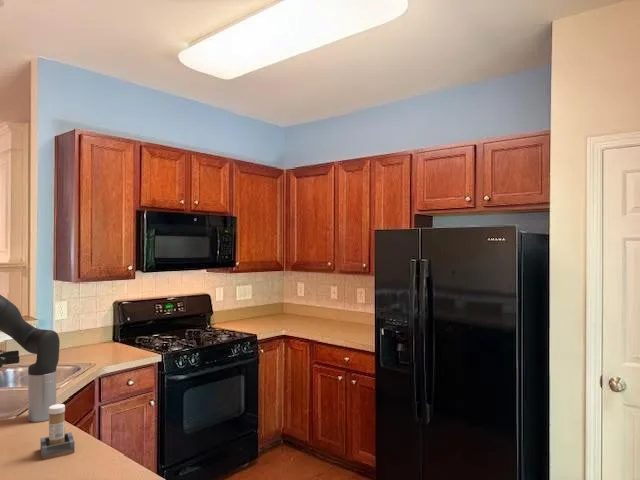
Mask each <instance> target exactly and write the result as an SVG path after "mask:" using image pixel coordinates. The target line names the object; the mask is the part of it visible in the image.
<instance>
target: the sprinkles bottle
mask: <svg viewBox="0 0 640 480" xmlns="http://www.w3.org/2000/svg"><path fill="white" fill-rule="evenodd" d="M65 413H66V405H65V404H64V403H56V405H52V406H50V407H49V420H48V426H49V427H48V437H49V445H54V444H59V443H64V441H65V439H64V438H65V437H64V436H65V433H66V432H65V431H66V430H65V429H66V427H65Z"/></svg>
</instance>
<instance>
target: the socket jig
mask: <svg viewBox="0 0 640 480" xmlns="http://www.w3.org/2000/svg"><path fill="white" fill-rule="evenodd" d="M64 437H65V438H64V439H65V441H64V443H59V444H54V445H49V436H46V437H42V438H40V440H39V441H40V446H39V447H40V454H41V455H40V456H41V460H47V459H52V458H57V457H61V456H66V455H71V454H74V453H76V452H75V450H76V449H75V439H74V436H73V433H72V432H67V433H66V432H65V436H64Z"/></svg>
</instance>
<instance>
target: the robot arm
mask: <svg viewBox="0 0 640 480" xmlns="http://www.w3.org/2000/svg"><path fill="white" fill-rule="evenodd" d="M0 332H2V333H4V334H6V335H7V336H8V337H10V338H12V339H13V340H14V341H15V342H16V343H17V344H18V345H19V346H21V348H22V349H23V350H24V351H26V352H28V353H30V354H33V355H36V361H35V363H32V364H30V365H29V366H28V370H27V376H28V377H27V379H28V380H27V385H28V386H27V388H28V389H27V394H28V395H27V401H28V402H27V403H28V404H27V407H28V409H27V419H28V421H29V422H32V423H33V422H35V423H37V422H38V423H39V422H45V421H49V407H50V406H52V405H56V404H57V367H58V364H59V361H60V346H61V345H60V337H59V334H58V333H57V332H56V331H55V330H51V329H41V328H38V327H36V326H33V325H32V324H30V323H29V322H27V321H26V320H25V319H24V318H23V316H22V314H21V311H20V309H19V308H18V307H17V305H15V304H14V303H13V302H11V301H10V300H8V298H6V297H5V296H4V295H1V294H0ZM19 354H20V353H19V350H9V351H4V350H1V349H0V368H3V367H5V366H7V365H13V364H14V365H15V364H19V363H20V355H19Z"/></svg>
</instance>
